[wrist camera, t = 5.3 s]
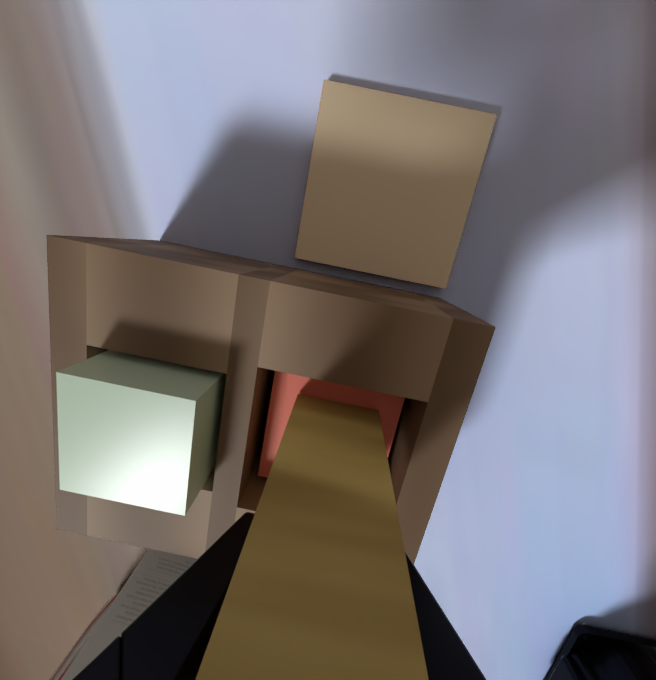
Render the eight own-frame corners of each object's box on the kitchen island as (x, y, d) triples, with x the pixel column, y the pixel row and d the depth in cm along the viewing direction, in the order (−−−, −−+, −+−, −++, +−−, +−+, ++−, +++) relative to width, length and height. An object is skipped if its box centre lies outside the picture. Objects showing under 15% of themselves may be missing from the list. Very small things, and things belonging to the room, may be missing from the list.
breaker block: (440, 298, 15) (495, 327, 10) (384, 491, 18) (400, 601, 13) (158, 240, 16) (46, 235, 10) (147, 441, 18) (56, 529, 13)
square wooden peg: (360, 479, 13) (384, 957, 4) (285, 463, 13) (152, 905, 4) (378, 410, 12) (455, 824, 3) (297, 393, 12) (165, 762, 3)
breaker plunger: (397, 370, 14) (406, 391, 12) (371, 465, 15) (375, 500, 13) (286, 347, 14) (276, 364, 12) (270, 444, 15) (257, 476, 13)
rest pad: (493, 118, 13) (497, 114, 13) (443, 287, 15) (445, 288, 15) (324, 84, 13) (323, 79, 13) (295, 257, 15) (294, 257, 15)
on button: (232, 365, 12) (195, 400, 9) (220, 457, 13) (184, 515, 10) (125, 342, 12) (56, 372, 9) (122, 437, 13) (59, 489, 10)
